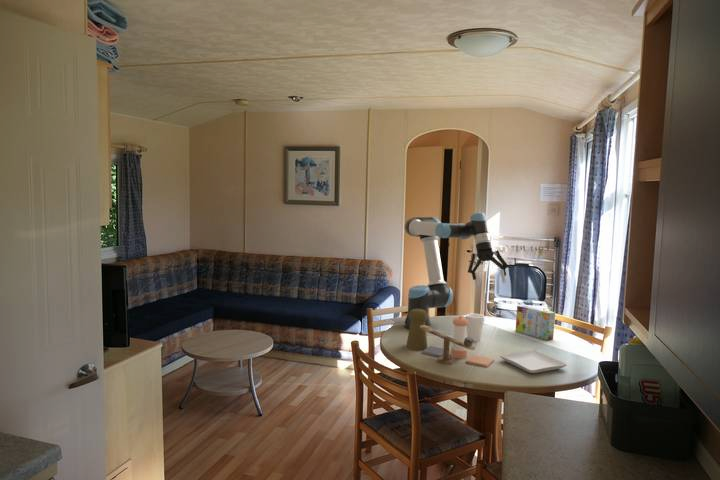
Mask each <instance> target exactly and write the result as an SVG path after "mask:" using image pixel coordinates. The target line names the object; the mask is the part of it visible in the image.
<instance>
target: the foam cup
mask: <svg viewBox="0 0 720 480" xmlns="http://www.w3.org/2000/svg"><path fill="white" fill-rule="evenodd" d="M465 319H467V321H468V324H467V326H466V334H467V337H469V338H472V339H474V340H473V342H475V341H477V342H481V339H482V333H483V327H484V322H485V315H483V314H481V313H467V314H465Z"/></svg>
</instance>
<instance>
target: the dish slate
mask: <svg viewBox="0 0 720 480" xmlns="http://www.w3.org/2000/svg"><path fill="white" fill-rule="evenodd" d="M443 350H444V347H437V346H432V345H430V346H427V348H426V349H425V350H422V351H421V354H424V355H428V356H433V357H437V358H439V357H440V356H443Z"/></svg>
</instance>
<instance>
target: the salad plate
mask: <svg viewBox="0 0 720 480" xmlns="http://www.w3.org/2000/svg"><path fill="white" fill-rule="evenodd" d="M499 357H500V358H501V359H502V360H503V361H505V362H507V363H508V364H511V365H513V366H515V367H517V368H518V369H521V370H523V371H525V372H527V373H530V374H536V373H537V374H538V373H543V372H549V371H556V370H561V369H564V368H565V367H567V363H565V362H563V361H561V360H559V359H556V358H554V357H553V356H550V355H548V354H545V353H543V352H540V351H538V350H536V349H531V350H522V351H517V352H516V351H515V352H510V353H503V354H500V355H499Z"/></svg>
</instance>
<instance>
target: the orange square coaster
mask: <svg viewBox="0 0 720 480" xmlns="http://www.w3.org/2000/svg"><path fill="white" fill-rule="evenodd" d="M494 362H495V359H494V358H491V357H486V356H482V355H476V354H473V355H471V356H470V357H469V358H467V359H466V360H465V363H466V364H470V365H474V366H479V367H484V368H489V367H490V365H491V364H493V363H494Z"/></svg>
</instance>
